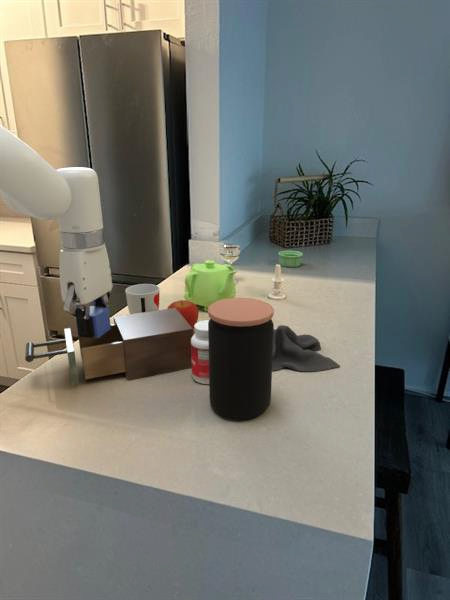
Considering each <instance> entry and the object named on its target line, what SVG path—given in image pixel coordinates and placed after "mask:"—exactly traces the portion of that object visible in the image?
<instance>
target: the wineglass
mask: <svg viewBox="0 0 450 600" xmlns="http://www.w3.org/2000/svg"><path fill="white" fill-rule="evenodd" d="M219 248H220V250H219V254H220V258H221V259H222V260H223V261H225V262H227V263H228V265H230V266H232V265H233V263H234V262H236V261H237V260H238V259H240V257H241V255H242V251H241V244H238V243H237V244H236V243H226V244H225V243H224V244H221V245H219ZM232 267H233V266H232ZM233 280H234V283H235V285H236V284H238V283H239V281H238V280H236V279H233Z"/></svg>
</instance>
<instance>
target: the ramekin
mask: <svg viewBox="0 0 450 600" xmlns="http://www.w3.org/2000/svg"><path fill="white" fill-rule="evenodd" d="M303 256H304V254H303V252H302V251H298V250H282V251H281V250H280V251H279V252H278V264H279V265H281V267H284V268H297V267H300V266H301V265H302V259H303ZM281 263H282V264H281Z"/></svg>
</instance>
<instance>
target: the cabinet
mask: <svg viewBox="0 0 450 600" xmlns="http://www.w3.org/2000/svg"><path fill="white" fill-rule="evenodd" d="M113 324H116V326H117V329H118V331H119V333H120V336H121V338H122V340H123V344H124V355H125V365H126V372H123V373H124V375H125V378H126V381H131V380H136V379H137V380H138V379H141V378H142V379H143V378H146V377H151V376H156V375H157V376H158V375H161V374H167V373H171V372H172V373H173V372H178V371H181V370H187V369H192V359H191V338H192V336H193V335H194V330H193V328H192V327H191V326H190V325H189V323H188V322H187V321H186V320H185V319H184V317H183V316H182V315H181V314H180V313H179V311H178V310H177V309H176V308H170V309H168V308H164V309H159V310H156V311H149V312H143V313H136V314H130V313H129V314H123V315H115V316H113Z"/></svg>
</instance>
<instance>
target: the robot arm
mask: <svg viewBox="0 0 450 600" xmlns="http://www.w3.org/2000/svg"><path fill="white" fill-rule="evenodd" d="M0 198H1V199H2V201H3V203H4V204H5V206H7V207H8V208H9V209H11V210H12V211H14V212H16V213H18V214H20V215H24V216H27V217H31V218H35V219H37V220H42V221H55V220H57V222H58V230H59V236H60V243H61V250H59V260H58V261H59V263H58V264H59V267H58V269H59V285H60V295H61V299H62V302H63V303H64V305H63V308H62V309H63V311H64V312H66V313H69V314H70V315H71V316H72V317H73V319H75V322H77V323H76V330H77V329H78V330H77V336H78V335H79V336H80V337H85V338H93V337H94V329H93V321H92V318H90V306H91V303H92V302H93V306H95V307H104V308H109V307H110V301H109V299H110V298H111V297H110V296H111V292H112V290H113V288H114V284H113V281H112V271H111V265H110V259H109V255H108V250H107V247H106V239H105V231H104V221H103V211H102V203H101V202H102V201H101V195H100V184H99V177H98V174H97V172H96V171H95V170H94V169H93V168H90V167H63V168H58V169H56V168H55V167H54V166H52V165H51V164H50V163H49V162H48V161H47V160H45V159H44V158H43V157H42V155H40V154H39V153H38V152H37V151H35V150H34V149H33V148H32V147H31V146H29V145H28V144H27V143H26V142H24V140H22V139H20V138H19V137H18V136H16V135H15V134H14V133H12V132H11V131H10V130H8V129H6V128H5V127H4V126H3V125H1V124H0ZM81 306H82V307H83V309H84V311H83V309H81Z"/></svg>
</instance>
